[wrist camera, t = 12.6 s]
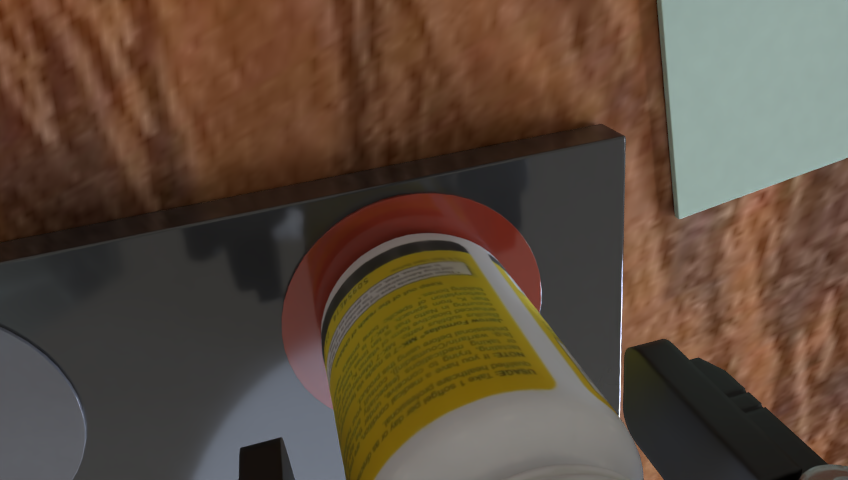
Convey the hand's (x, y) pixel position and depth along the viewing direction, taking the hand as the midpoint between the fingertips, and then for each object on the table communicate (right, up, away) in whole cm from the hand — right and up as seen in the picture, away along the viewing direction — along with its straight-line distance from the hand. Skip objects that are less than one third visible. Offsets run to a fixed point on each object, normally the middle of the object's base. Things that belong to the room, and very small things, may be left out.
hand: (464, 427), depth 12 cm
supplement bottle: (-1, +2, +4) cm, 4 cm away
